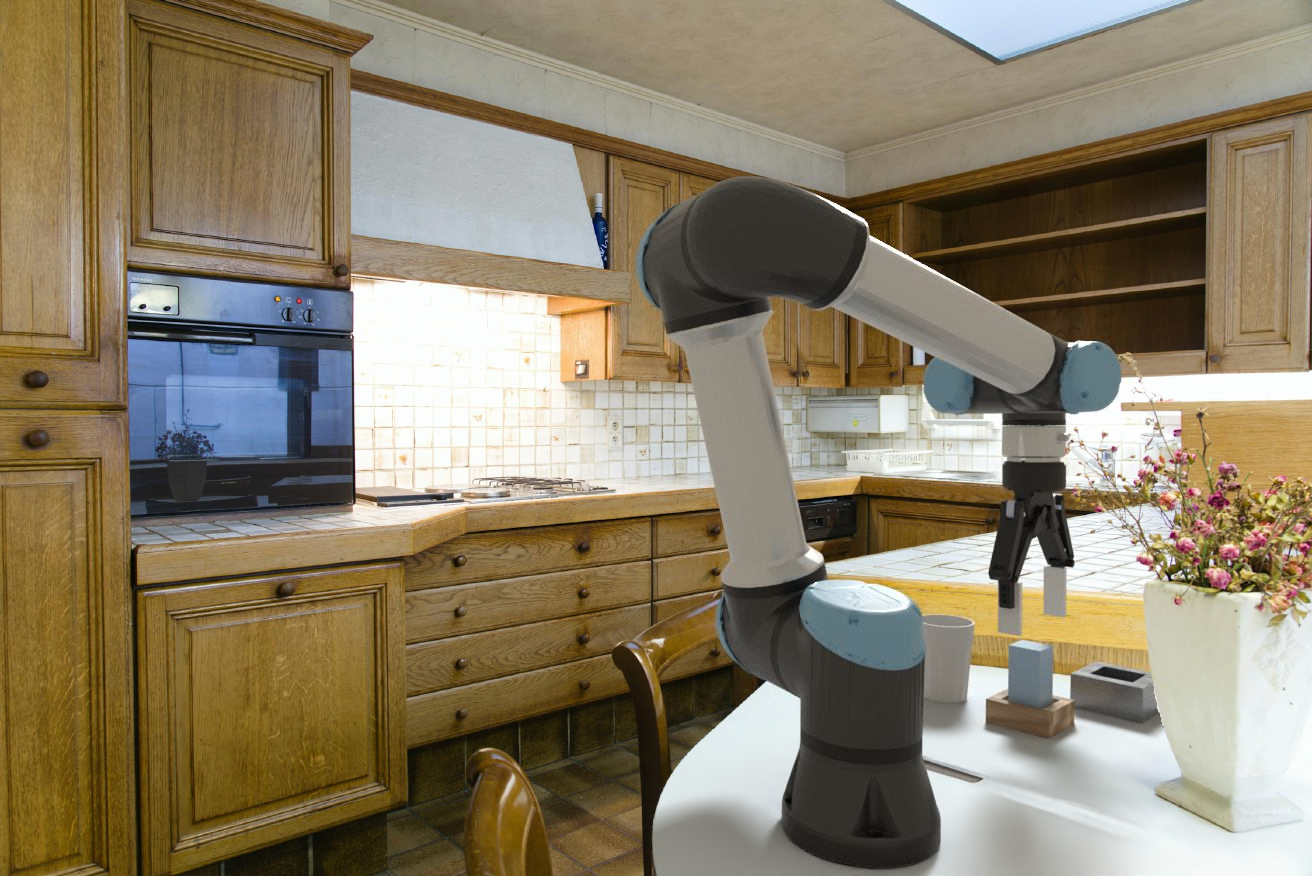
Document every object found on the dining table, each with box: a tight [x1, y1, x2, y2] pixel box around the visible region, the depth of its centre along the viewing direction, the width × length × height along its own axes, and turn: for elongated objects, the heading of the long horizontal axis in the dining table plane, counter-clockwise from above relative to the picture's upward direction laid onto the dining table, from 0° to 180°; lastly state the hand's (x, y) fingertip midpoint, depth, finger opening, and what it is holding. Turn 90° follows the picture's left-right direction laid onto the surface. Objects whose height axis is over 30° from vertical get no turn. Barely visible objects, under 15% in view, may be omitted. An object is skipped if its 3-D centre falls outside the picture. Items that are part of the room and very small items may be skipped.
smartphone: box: [923, 758, 985, 783], centre depth 103 cm, size 7×1×15 cm
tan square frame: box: [985, 688, 1076, 740], centre depth 111 cm, size 8×8×4 cm
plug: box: [1007, 639, 1054, 709], centre depth 111 cm, size 4×4×10 cm
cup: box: [922, 613, 976, 704], centre depth 122 cm, size 8×8×12 cm
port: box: [1069, 660, 1159, 724], centre depth 117 cm, size 9×9×5 cm
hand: (1033, 624), depth 111 cm, fingers open, 13 cm apart
